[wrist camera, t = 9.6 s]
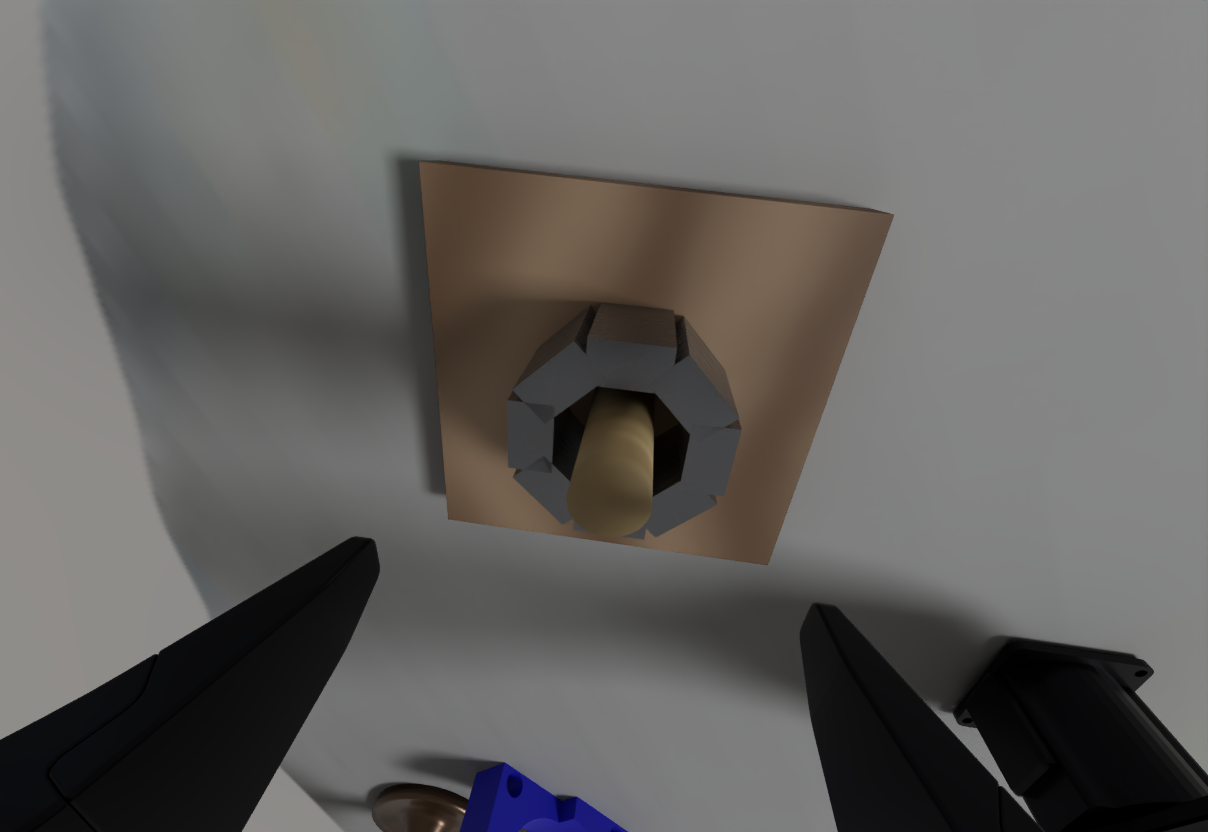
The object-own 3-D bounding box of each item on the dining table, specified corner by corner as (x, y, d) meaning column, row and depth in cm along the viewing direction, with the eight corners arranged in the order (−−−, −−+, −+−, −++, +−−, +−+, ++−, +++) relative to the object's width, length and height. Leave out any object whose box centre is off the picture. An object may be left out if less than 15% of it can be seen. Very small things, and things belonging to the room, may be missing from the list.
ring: (741, 317, 16) (760, 358, 13) (702, 485, 19) (710, 549, 16) (535, 294, 16) (506, 327, 13) (532, 462, 19) (508, 521, 16)
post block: (874, 209, 15) (1036, 252, 9) (761, 540, 22) (804, 705, 15) (439, 160, 16) (281, 167, 9) (460, 497, 23) (379, 639, 16)
